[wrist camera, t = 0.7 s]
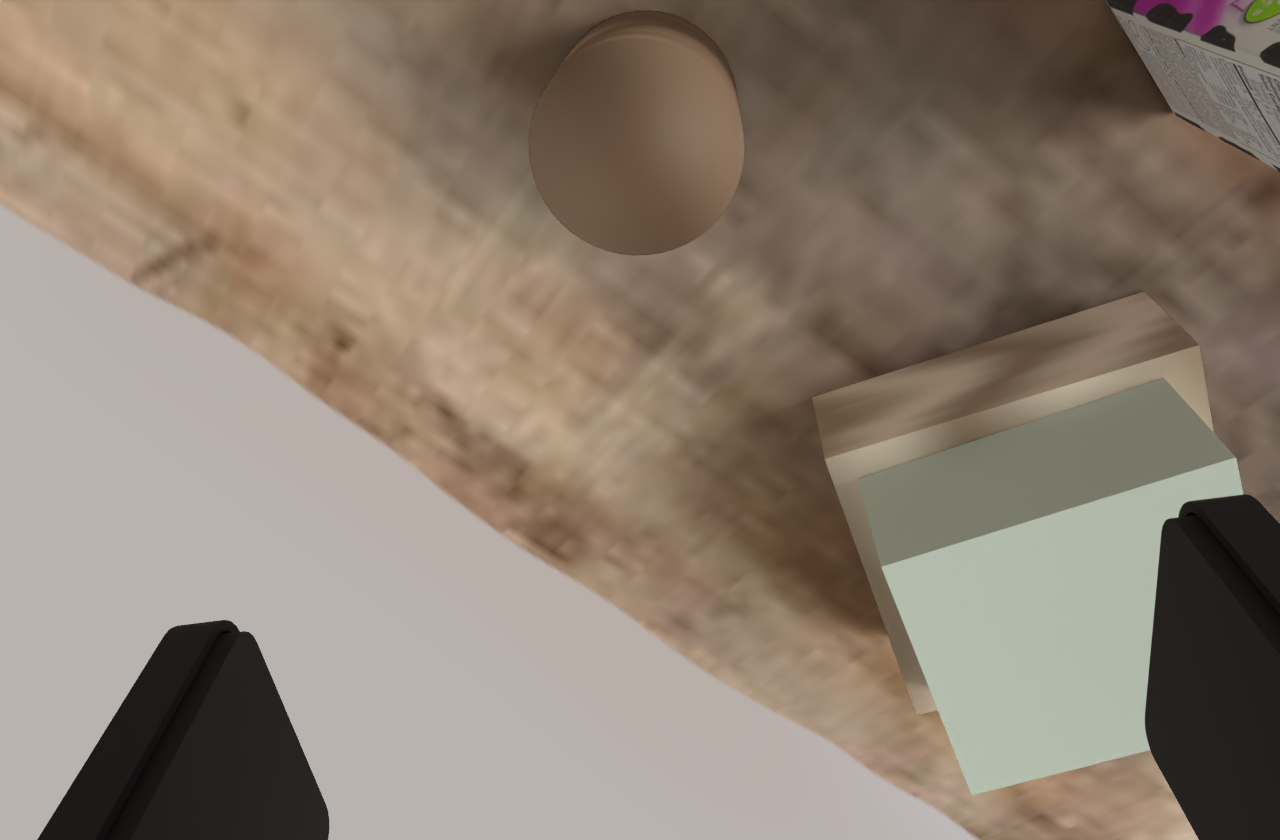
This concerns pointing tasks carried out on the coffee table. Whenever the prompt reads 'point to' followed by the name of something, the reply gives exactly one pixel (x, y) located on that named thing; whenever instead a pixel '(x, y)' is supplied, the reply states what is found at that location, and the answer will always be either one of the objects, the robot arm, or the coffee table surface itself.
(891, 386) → the tower base
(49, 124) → the coffee table surface
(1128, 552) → the tower top
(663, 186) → the walnut cylinder
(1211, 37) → the candy bar box
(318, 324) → the coffee table surface
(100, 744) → the robot arm
